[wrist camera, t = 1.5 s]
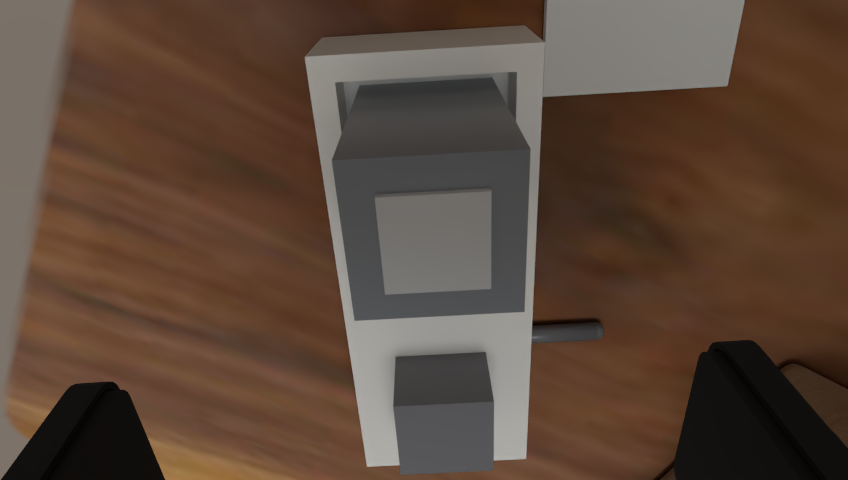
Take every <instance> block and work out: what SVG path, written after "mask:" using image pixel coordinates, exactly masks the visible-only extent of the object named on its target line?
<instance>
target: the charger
mask: <svg viewBox="0 0 848 480" xmlns="http://www.w3.org/2000/svg"><path fill="white" fill-rule="evenodd" d="M530 151H531V149H530V147H529V145H528V143H527V141H526V140H525V138H524V136H523V134H522V132H521V130H520V128H519V126H518V125H517V123H516V121H515V119H514V117H513V115H512V113H511V111H510V110H509V108H508V106H507V104H506V102H505V100H504V98H503V96H502V95H501V93H500V91H499V89H498V87H497V85H496V83H495V82H494V80H493V78H492V77H491V78H475V79H458V80H441V81H424V82H407V83H390V84H374V85H360V86H359V88H358V91H357V94H356V96H355V99H354V102H353V105H352V107H351V110H350V113H349V115H348V118H347V121H346V123H345V126H344V129H343V131H342V134H341V137H340V139H339V142H338V145H337V147H336V150H335V153H334V155H333V158H332V167H333V174H334V181H335V188H336V195H337V202H338V209H339V216H340V223H341V230H342V237H343V244H344V251H345V258H346V265H347V272H348V279H349V286H350V293H351V300H352V307H353V314H354V321H361V320H380V319H399V318H418V317H437V316H456V315H475V314H494V313H513V312H525V286H526V259H527V232H528V205H529V178H530Z"/></svg>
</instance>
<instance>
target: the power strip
mask: <svg viewBox="0 0 848 480" xmlns="http://www.w3.org/2000/svg"><path fill="white" fill-rule="evenodd" d="M544 53H545V42H544V41H543V40H542V39H540V38H539V37H538V36H537V35H536V34H534V33H533V32H532V31H531V30H530V29H529V28H527V27H526V26H525V25H518V26H502V27H485V28H469V29H452V30H436V31H420V32H403V33H387V34H370V35H354V36H337V37H322V38H321V39H320V40H319V41H318V43H317V44H316V45H315V46H314V47H313V48H312V49H311V50H310V51H309V52H308V54H307V55H306V56H305V63H306V70H307V76H308V83H309V89H310V96H311V103H312V109H313V116H314V122H315V129H316V135H317V142H318V148H319V155H320V161H321V168H322V175H323V181H324V188H325V194H326V201H327V207H328V214H329V220H330V227H331V233H332V240H333V247H334V253H335V260H336V266H337V273H338V279H339V286H340V292H341V299H342V306H343V312H344V319H345V325H346V332H347V338H348V345H349V351H350V358H351V364H352V371H353V378H354V384H355V391H356V397H357V404H358V410H359V417H360V423H361V430H362V436H363V443H364V450H365V456H366V463H367V467H370V466H390V465H400V472H401V475H408V474H429V473H449V472H470V471H491V470H494V460H513V459H526V449H527V427H528V405H529V383H530V361H531V343H549V342H568V341H587V340H599V339H601V338H602V337H603V335H604V328H603V326H602V325H601V324H599V323H597V322H591V323H572V324H553V325H534V326H532V317H533V295H534V273H535V251H536V229H537V207H538V185H539V163H540V141H541V119H542V97H543V75H544ZM491 77H492V78H493V80H494V82H495V83H496V85H497V87H498V89H499V91H500V93H501V95H502V96H503V98H504V100H505V102H506V104H507V106H508V108H509V110H510V111H511V113H512V115H513V117H514V119H515V121H516V123H517V125H518V126H519V128H520V130H521V132H522V134H523V136H524V138H525V140H526V141H527V143H528V145H529V147H530V149H531V151H530V178H529V205H528V232H527V259H526V286H525V312H513V313H494V314H475V315H456V316H437V317H418V318H399V319H380V320H361V321H354V314H353V307H352V300H351V293H350V286H349V279H348V272H347V265H346V258H345V251H344V244H343V237H342V230H341V223H340V216H339V209H338V202H337V195H336V188H335V181H334V174H333V167H332V158H333V155H334V153H335V150H336V147H337V145H338V142H339V139H340V137H341V134H342V131H343V129H344V126H345V123H346V121H347V118H348V115H349V113H350V110H351V107H352V105H353V102H354V99H355V96H356V94H357V91H358V88H359V86H360V85H374V84H390V83H407V82H424V81H441V80H458V79H475V78H491Z"/></svg>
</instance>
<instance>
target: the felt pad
mask: <svg viewBox="0 0 848 480" xmlns="http://www.w3.org/2000/svg"><path fill="white" fill-rule="evenodd" d="M744 2H745V0H545V2H544V25H543V41H544V42H545V53H544V75H543V97H551V96H568V95H585V94H602V93H619V92H636V91H653V90H670V89H687V88H704V87H721V86H728V81H729V76H730V71H731V66H732V61H733V56H734V51H735V46H736V41H737V36H738V31H739V26H740V21H741V17H742V12H743V7H744Z"/></svg>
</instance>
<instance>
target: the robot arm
mask: <svg viewBox="0 0 848 480" xmlns="http://www.w3.org/2000/svg"><path fill="white" fill-rule="evenodd" d="M674 473H675V478H676V480H848V448H847V447H846V445H845V444H844V443H843V442H842V441H841V440H840V438H839V437H838V436H837V435H836V434H835V433H834V432H833V431H832V430H831V429H830V428H829V427H828V426H827V424H826V423H825V422H824V421H823V420H822V419H821V417H820V416H819V415H818V414H817V413H816V412H815V410H814V409H813V408H812V407H811V406H810V405H809V403H808V402H807V401H806V400H805V399H804V398H803V396H802V395H801V394H800V393H799V392H798V391H797V389H796V388H795V387H794V386H793V385H792V384H791V382H790V381H789V380H788V379H787V378H786V377H785V375H784V374H783V373H782V372H781V371H780V370H779V369H778V367H777V366H776V365H775V364H774V363H773V362H772V360H771V359H770V358H769V357H768V356H767V355H766V353H765V352H764V351H763V350H762V349H761V348H760V346H759V345H757V344H756V343H755V342H754V341H751V340H741V341H726V342H715V343H712V344H711V345H710V347H709V349H708V352H702V353H701V354H700V356H699V359H698V363H697V367H696V371H695V375H694V380H693V384H692V388H691V392H690V397H689V401H688V405H687V410H686V414H685V418H684V422H683V427H682V431H681V435H680V439H679V444H678V448H677V452H676V456H675V461H674ZM1 480H165V479H164V476H163V474H162V471H161V469H160V467H159V464H158V462H157V460H156V457H155V455H154V452H153V450H152V448H151V445H150V443H149V440H148V438H147V436H146V433H145V431H144V428H143V426H142V424H141V421H140V419H139V416H138V414H137V412H136V409H135V407H134V405H133V402H132V400H131V397H130V395H129V394H128V392H127V391H125V390H120V389H119V387H118V386H117V384H115V383H114V382H97V383H81V384H74V385H72V386H70V387H69V388H68V389H67V391H66V392H65V393H64V394H63V396H62V397H61V398H60V400H59V401H58V403H57V404H56V405H55V407H54V408H53V409H52V411H51V412H50V413H49V415H48V416H47V418H46V419H45V420H44V422H43V423H42V424H41V426H40V427H39V429H38V430H37V431H36V433H35V434H34V435H33V437H32V438H31V439H30V441H29V442H28V444H27V445H26V446H25V448H24V449H23V450H22V452H21V453H20V454H19V456H18V457H17V459H16V460H15V461H14V463H13V464H12V466H11V467H10V468H9V469H8V471H7V472H6V474H5V475H4V476H3V478H2V479H1Z"/></svg>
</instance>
